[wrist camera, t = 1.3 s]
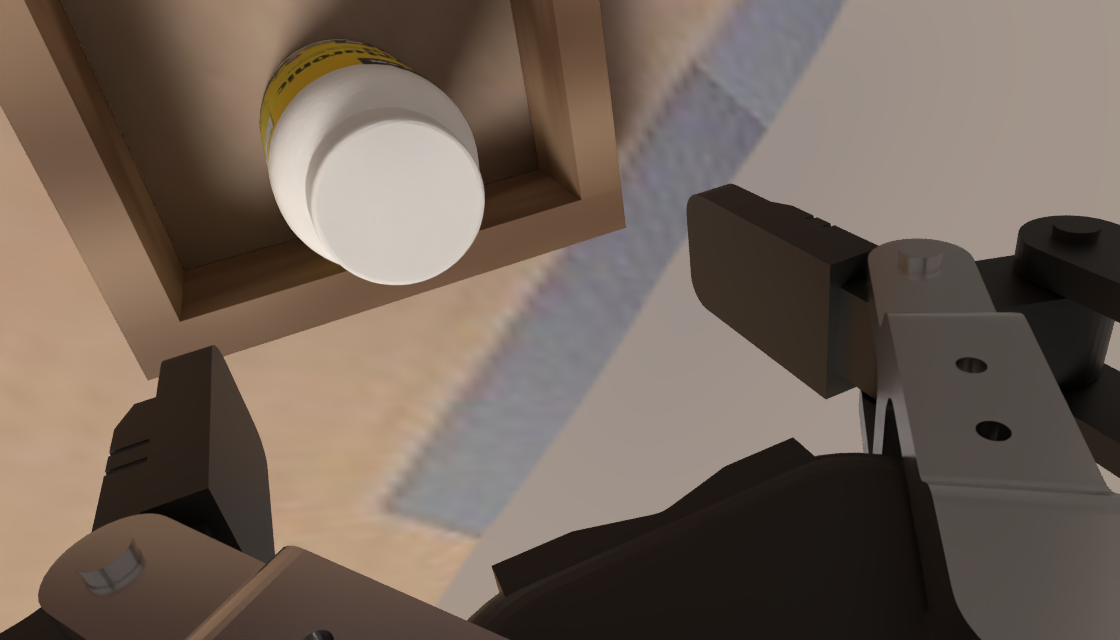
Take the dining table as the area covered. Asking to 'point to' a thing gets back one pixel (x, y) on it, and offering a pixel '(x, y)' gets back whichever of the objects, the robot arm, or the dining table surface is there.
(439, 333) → the dining table surface
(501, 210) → the walnut cubby
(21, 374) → the dining table surface
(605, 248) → the dining table surface
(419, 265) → the supplement bottle
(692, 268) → the robot arm
